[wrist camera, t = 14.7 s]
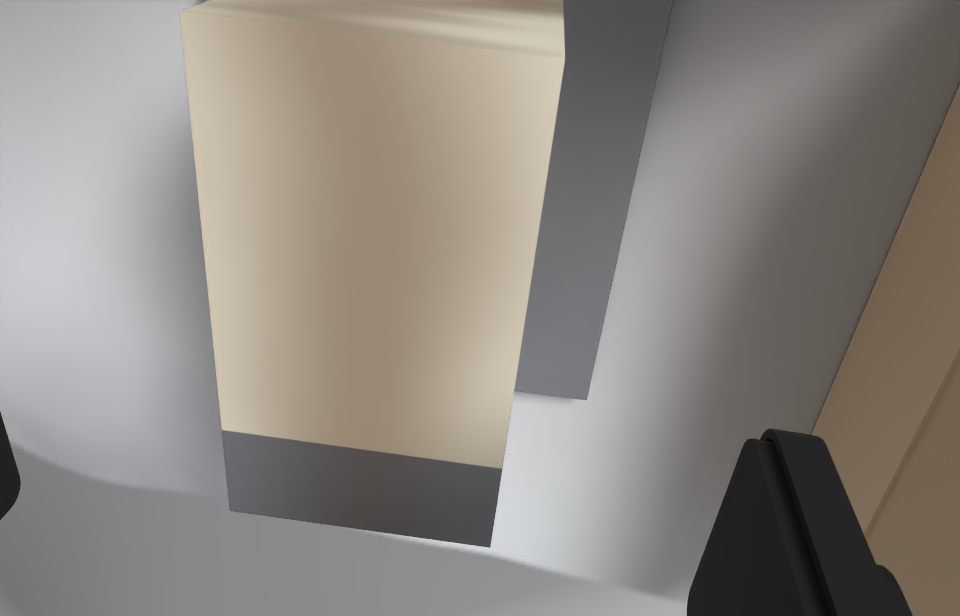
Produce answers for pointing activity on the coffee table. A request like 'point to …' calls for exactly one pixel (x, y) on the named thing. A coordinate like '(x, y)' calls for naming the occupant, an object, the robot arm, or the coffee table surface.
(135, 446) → the coffee table surface
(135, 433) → the coffee table surface
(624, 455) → the coffee table surface
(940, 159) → the carton
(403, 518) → the block
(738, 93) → the coffee table surface
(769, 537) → the robot arm
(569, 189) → the grey mat
